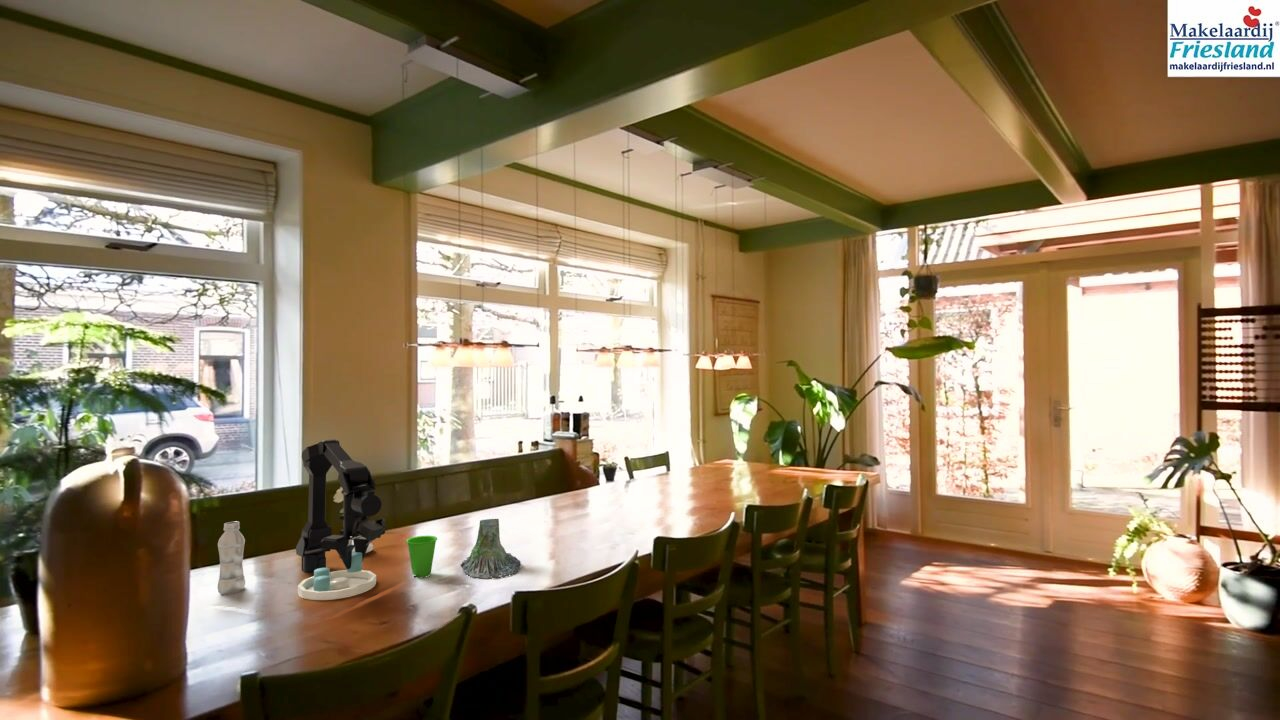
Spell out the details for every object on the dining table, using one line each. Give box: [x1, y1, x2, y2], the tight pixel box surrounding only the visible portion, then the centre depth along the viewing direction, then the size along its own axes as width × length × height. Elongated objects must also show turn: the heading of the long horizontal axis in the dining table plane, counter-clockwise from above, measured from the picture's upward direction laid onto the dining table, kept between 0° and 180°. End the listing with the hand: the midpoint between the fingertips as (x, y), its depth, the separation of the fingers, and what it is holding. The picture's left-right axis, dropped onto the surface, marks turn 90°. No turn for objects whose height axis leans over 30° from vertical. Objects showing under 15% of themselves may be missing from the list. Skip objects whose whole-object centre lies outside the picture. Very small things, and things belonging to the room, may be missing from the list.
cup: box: [405, 535, 438, 579], centre depth 195 cm, size 9×9×11 cm
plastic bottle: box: [217, 520, 246, 596], centre depth 179 cm, size 6×7×20 cm
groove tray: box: [297, 569, 377, 601], centre depth 181 cm, size 20×20×3 cm
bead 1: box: [314, 576, 330, 591], centre depth 176 cm, size 4×4×4 cm
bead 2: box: [346, 552, 363, 572], centre depth 180 cm, size 4×4×4 cm
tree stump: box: [459, 518, 522, 580], centre depth 202 cm, size 18×20×18 cm
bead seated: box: [313, 567, 331, 578], centre depth 183 cm, size 4×4×4 cm
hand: (354, 566), depth 180 cm, fingers closed on bead 2, 4 cm apart
